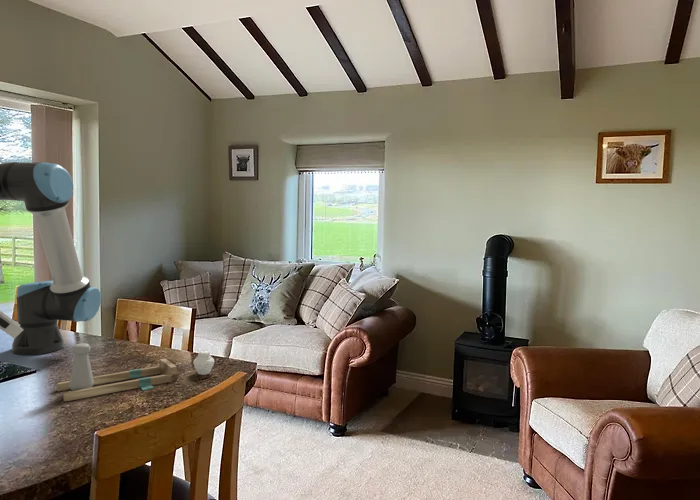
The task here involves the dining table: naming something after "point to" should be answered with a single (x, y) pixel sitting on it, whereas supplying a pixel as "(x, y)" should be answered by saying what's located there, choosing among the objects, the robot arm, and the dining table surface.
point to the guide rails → (144, 383)
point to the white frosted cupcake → (203, 363)
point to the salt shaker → (81, 368)
